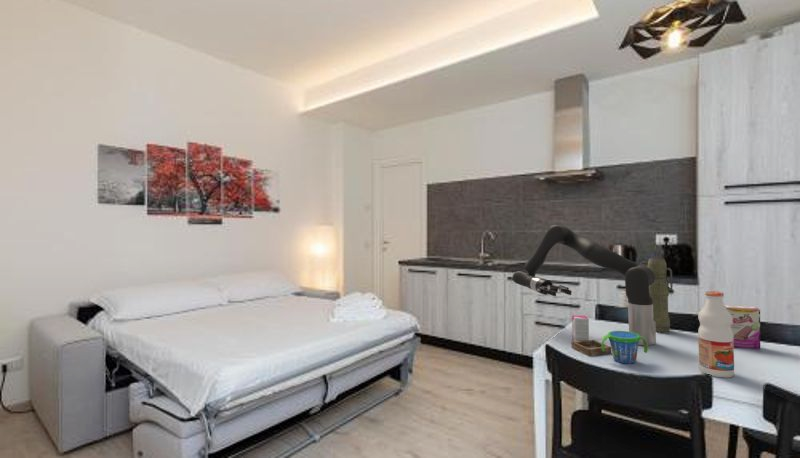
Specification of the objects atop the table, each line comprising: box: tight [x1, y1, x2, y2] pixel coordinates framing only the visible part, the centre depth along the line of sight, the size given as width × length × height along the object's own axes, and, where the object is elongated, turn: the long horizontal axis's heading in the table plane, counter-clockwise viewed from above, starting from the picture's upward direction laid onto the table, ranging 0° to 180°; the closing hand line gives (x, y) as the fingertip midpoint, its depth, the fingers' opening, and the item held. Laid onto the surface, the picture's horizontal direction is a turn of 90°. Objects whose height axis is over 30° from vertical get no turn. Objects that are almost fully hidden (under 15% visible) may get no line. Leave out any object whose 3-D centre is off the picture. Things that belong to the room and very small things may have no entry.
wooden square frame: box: [570, 339, 612, 357], centre depth 160 cm, size 11×11×2 cm
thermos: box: [647, 257, 673, 334], centre depth 184 cm, size 9×12×35 cm
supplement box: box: [571, 314, 590, 342], centre depth 171 cm, size 6×6×12 cm
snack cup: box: [600, 330, 649, 364], centre depth 147 cm, size 16×10×10 cm
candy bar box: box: [724, 304, 761, 350], centre depth 158 cm, size 11×5×16 cm, turn 65°
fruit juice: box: [697, 290, 735, 379], centre depth 133 cm, size 9×9×28 cm
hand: (563, 293), depth 180 cm, fingers open, 8 cm apart
